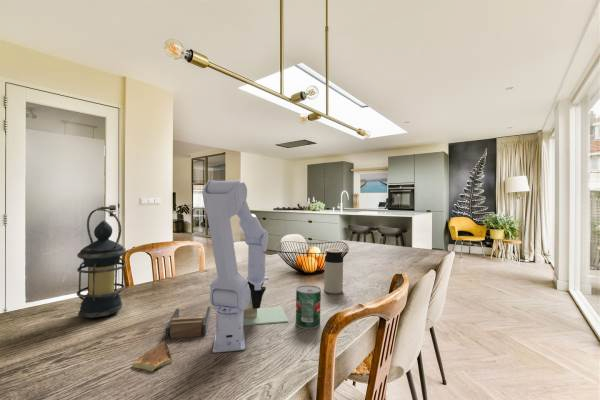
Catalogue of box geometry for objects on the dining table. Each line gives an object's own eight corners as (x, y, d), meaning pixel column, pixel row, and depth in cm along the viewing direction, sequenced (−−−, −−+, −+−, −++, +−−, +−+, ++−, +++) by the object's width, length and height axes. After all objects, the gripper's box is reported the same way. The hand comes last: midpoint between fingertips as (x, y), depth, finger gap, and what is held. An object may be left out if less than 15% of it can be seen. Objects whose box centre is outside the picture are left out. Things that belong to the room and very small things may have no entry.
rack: (205, 335, 78) (205, 325, 78) (165, 339, 76) (165, 328, 76) (210, 315, 92) (210, 306, 92) (176, 317, 89) (176, 308, 89)
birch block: (256, 317, 90) (257, 299, 90) (231, 319, 88) (232, 301, 88) (255, 312, 94) (255, 295, 94) (231, 314, 92) (231, 296, 92)
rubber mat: (288, 322, 88) (288, 320, 88) (223, 327, 83) (223, 325, 83) (282, 307, 100) (282, 306, 100) (225, 311, 95) (225, 310, 95)
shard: (165, 345, 73) (165, 338, 73) (189, 349, 71) (190, 343, 71) (130, 369, 63) (130, 361, 63) (158, 375, 61) (158, 366, 61)
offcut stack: (201, 335, 78) (202, 320, 78) (169, 338, 76) (170, 322, 76) (203, 328, 82) (203, 313, 82) (173, 331, 80) (173, 315, 80)
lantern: (135, 309, 96) (137, 209, 96) (98, 325, 83) (101, 209, 83) (103, 304, 99) (106, 207, 100) (63, 319, 87) (66, 208, 87)
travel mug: (345, 293, 118) (346, 251, 118) (329, 295, 115) (330, 252, 115) (336, 287, 125) (337, 248, 125) (321, 289, 122) (321, 248, 122)
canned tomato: (292, 320, 90) (292, 286, 90) (314, 316, 92) (314, 284, 92) (300, 330, 82) (301, 294, 82) (324, 327, 85) (325, 291, 85)
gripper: (271, 269, 86) (270, 312, 85) (266, 259, 100) (265, 296, 100) (248, 270, 84) (247, 314, 84) (246, 260, 98) (245, 298, 98)
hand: (255, 305), depth 92 cm, fingers open, 5 cm apart
